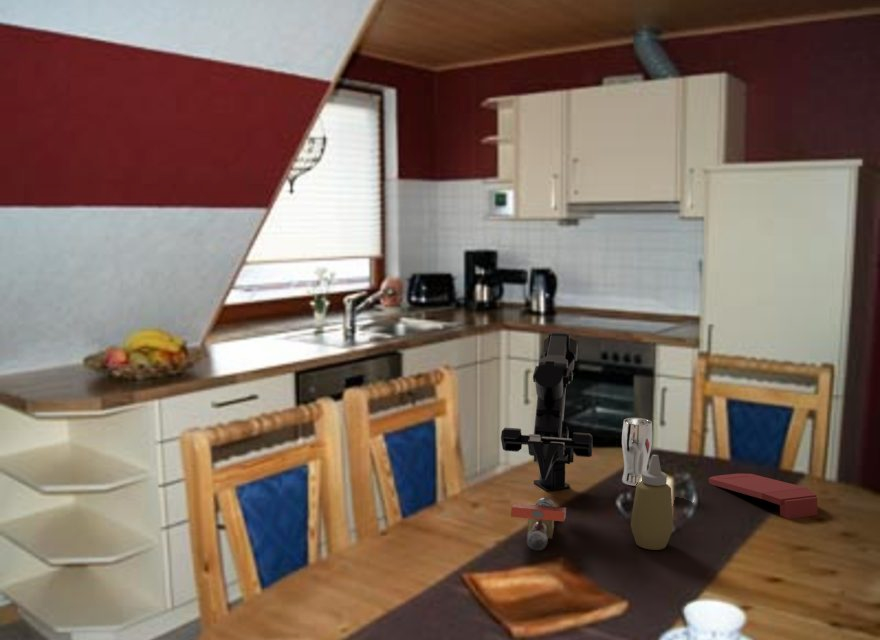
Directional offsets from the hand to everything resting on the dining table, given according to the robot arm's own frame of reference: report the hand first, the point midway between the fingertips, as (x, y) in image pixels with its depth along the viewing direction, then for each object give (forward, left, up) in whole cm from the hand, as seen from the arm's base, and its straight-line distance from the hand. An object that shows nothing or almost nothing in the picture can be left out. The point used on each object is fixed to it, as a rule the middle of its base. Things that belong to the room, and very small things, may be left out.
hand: (543, 479), depth 162 cm
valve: (+2, -1, -10) cm, 11 cm away
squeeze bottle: (+15, +16, -10) cm, 24 cm away
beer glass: (-16, +35, -10) cm, 40 cm away
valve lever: (+2, -1, -5) cm, 6 cm away
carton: (+2, +56, -11) cm, 57 cm away
